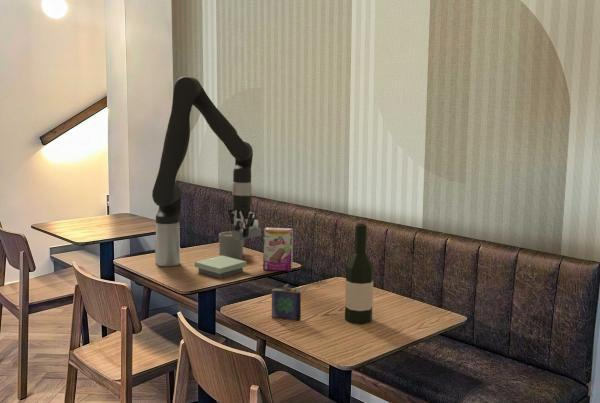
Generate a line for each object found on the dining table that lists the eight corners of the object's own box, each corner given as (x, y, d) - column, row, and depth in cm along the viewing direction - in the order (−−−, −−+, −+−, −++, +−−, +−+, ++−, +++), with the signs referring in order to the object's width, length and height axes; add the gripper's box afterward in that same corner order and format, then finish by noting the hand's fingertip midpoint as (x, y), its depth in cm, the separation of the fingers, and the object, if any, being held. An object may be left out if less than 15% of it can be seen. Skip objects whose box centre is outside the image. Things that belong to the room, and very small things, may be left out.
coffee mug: (229, 261, 252) (229, 237, 250) (214, 256, 259) (214, 233, 257) (253, 255, 262) (253, 232, 260) (238, 251, 268) (238, 229, 267)
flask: (270, 318, 186) (270, 284, 184) (273, 315, 188) (273, 281, 187) (299, 321, 183) (299, 287, 181) (302, 318, 186) (302, 284, 184)
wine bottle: (361, 326, 180) (364, 226, 175) (339, 319, 185) (341, 222, 180) (377, 319, 186) (380, 222, 181) (355, 313, 191) (358, 219, 186)
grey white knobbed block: (232, 238, 240) (232, 223, 239) (253, 234, 249) (254, 219, 248) (239, 240, 238) (239, 224, 237) (260, 235, 247) (261, 220, 246)
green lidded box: (194, 272, 235) (194, 261, 234) (221, 265, 245) (221, 255, 245) (219, 279, 226) (219, 268, 225) (246, 271, 237) (246, 261, 236)
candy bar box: (262, 270, 238) (263, 229, 235) (264, 267, 243) (265, 227, 240) (291, 271, 237) (291, 230, 234) (292, 268, 242) (293, 228, 239)
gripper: (222, 192, 240) (222, 234, 243) (248, 196, 231) (247, 240, 234) (236, 190, 246) (235, 232, 248) (261, 194, 237) (261, 237, 239)
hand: (241, 235), depth 241 cm, fingers closed on grey white knobbed block, 4 cm apart
